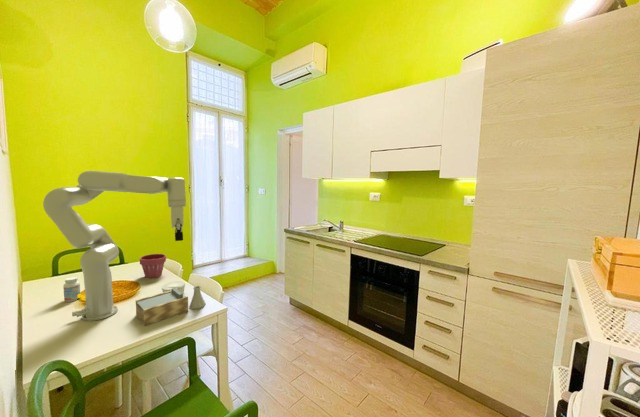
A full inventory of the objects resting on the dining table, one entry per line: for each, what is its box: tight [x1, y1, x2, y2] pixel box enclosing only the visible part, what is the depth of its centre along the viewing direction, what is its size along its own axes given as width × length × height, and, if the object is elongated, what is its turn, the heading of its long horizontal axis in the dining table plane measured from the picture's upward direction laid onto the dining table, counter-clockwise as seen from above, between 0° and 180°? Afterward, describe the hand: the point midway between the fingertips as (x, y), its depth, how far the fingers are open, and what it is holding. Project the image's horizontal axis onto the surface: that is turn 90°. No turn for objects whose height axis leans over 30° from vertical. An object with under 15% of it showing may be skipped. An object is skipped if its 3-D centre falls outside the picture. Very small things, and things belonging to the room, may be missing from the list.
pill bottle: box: [62, 276, 81, 303], centre depth 132 cm, size 6×6×11 cm
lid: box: [137, 288, 187, 310], centre depth 121 cm, size 18×10×3 cm, turn 138°
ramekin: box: [161, 281, 186, 295], centre depth 141 cm, size 11×11×5 cm
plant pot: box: [139, 253, 167, 279], centre depth 167 cm, size 14×14×13 cm
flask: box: [188, 285, 207, 310], centre depth 129 cm, size 7×7×10 cm
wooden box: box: [135, 289, 189, 327], centre depth 121 cm, size 18×13×7 cm
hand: (179, 238), depth 125 cm, fingers open, 9 cm apart
